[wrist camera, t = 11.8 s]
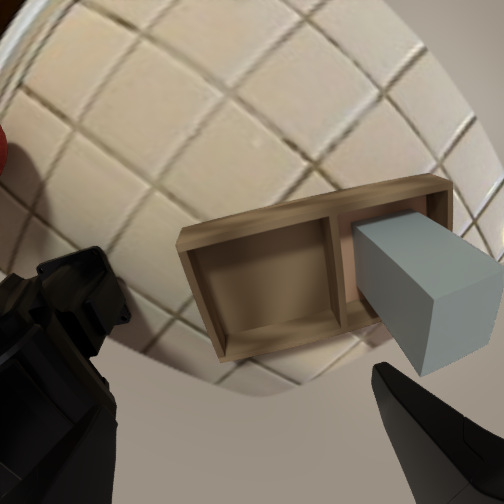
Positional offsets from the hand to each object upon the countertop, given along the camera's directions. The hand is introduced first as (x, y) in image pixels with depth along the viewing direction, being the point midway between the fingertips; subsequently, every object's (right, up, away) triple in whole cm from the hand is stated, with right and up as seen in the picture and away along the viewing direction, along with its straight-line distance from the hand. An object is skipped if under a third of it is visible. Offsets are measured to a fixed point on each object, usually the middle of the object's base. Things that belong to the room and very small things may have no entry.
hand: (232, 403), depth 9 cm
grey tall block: (+10, +5, +12) cm, 17 cm away
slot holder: (+6, +4, +13) cm, 15 cm away
